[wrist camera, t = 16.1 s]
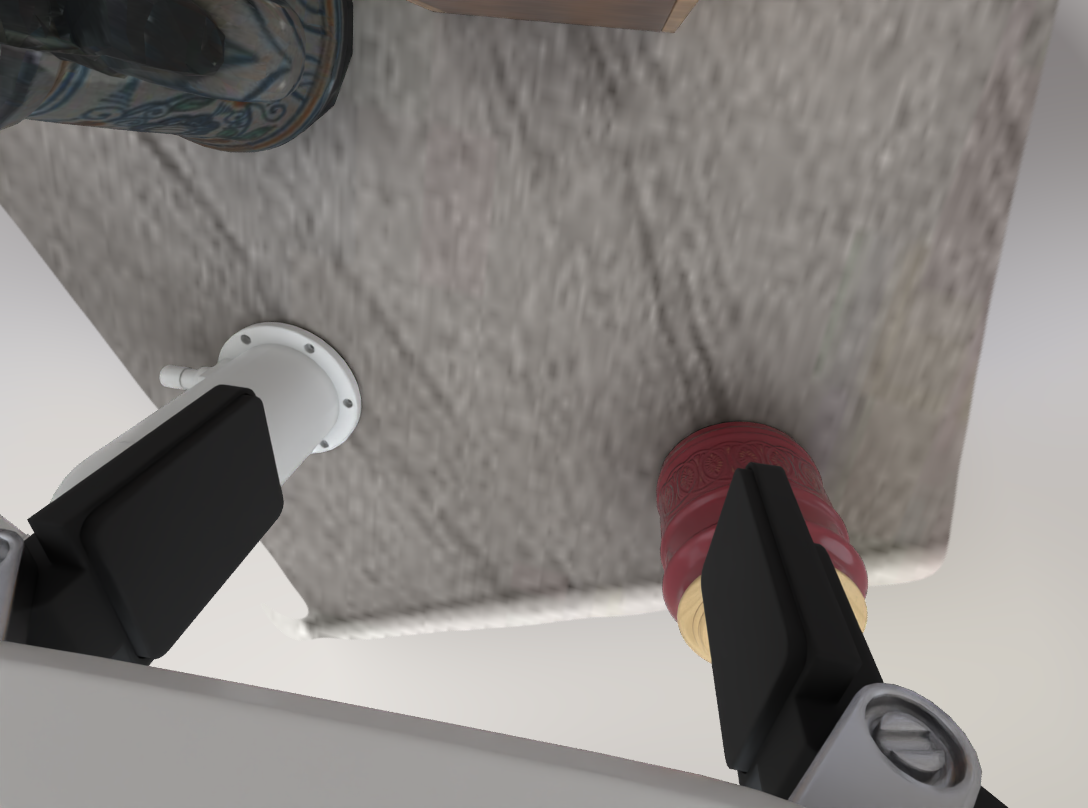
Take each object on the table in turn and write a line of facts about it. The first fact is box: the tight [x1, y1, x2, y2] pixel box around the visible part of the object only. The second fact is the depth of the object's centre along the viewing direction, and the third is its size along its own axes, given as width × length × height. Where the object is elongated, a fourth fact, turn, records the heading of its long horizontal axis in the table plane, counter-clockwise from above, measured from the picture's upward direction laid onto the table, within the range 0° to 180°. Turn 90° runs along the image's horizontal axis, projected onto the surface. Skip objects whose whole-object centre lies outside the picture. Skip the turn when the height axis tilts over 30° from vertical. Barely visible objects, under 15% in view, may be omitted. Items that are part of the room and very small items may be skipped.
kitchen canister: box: [656, 422, 868, 664], centre depth 39 cm, size 13×13×18 cm
